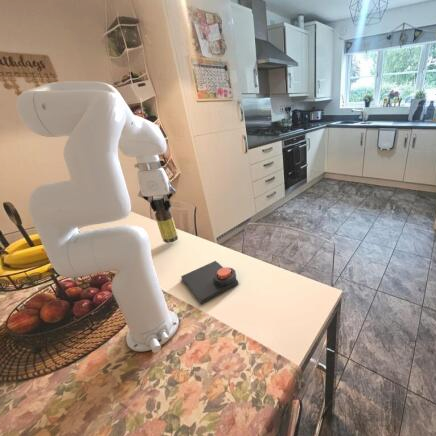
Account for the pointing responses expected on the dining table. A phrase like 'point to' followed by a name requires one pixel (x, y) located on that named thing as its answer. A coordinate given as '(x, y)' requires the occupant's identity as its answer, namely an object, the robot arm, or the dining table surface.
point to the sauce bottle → (165, 221)
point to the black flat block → (208, 282)
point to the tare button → (224, 273)
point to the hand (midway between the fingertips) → (162, 209)
